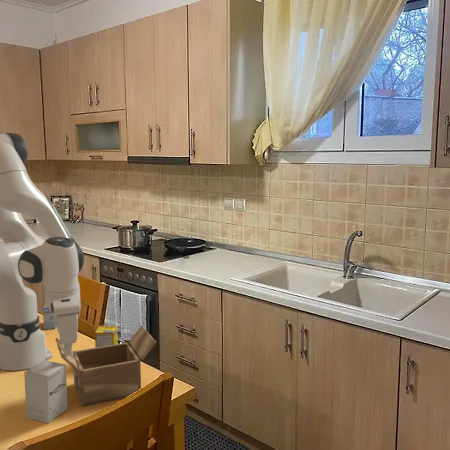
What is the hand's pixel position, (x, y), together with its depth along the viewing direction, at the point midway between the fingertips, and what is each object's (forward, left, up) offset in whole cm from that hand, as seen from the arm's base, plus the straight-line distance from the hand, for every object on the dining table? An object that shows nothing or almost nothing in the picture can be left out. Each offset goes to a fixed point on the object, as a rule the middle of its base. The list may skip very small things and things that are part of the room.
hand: (65, 348), depth 130 cm
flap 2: (0, +21, -2) cm, 21 cm away
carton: (0, +11, -14) cm, 18 cm away
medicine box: (-59, +2, -15) cm, 61 cm away
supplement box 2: (-19, +15, -15) cm, 28 cm away
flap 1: (0, 0, -2) cm, 2 cm away
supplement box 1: (+6, -6, -15) cm, 17 cm away
